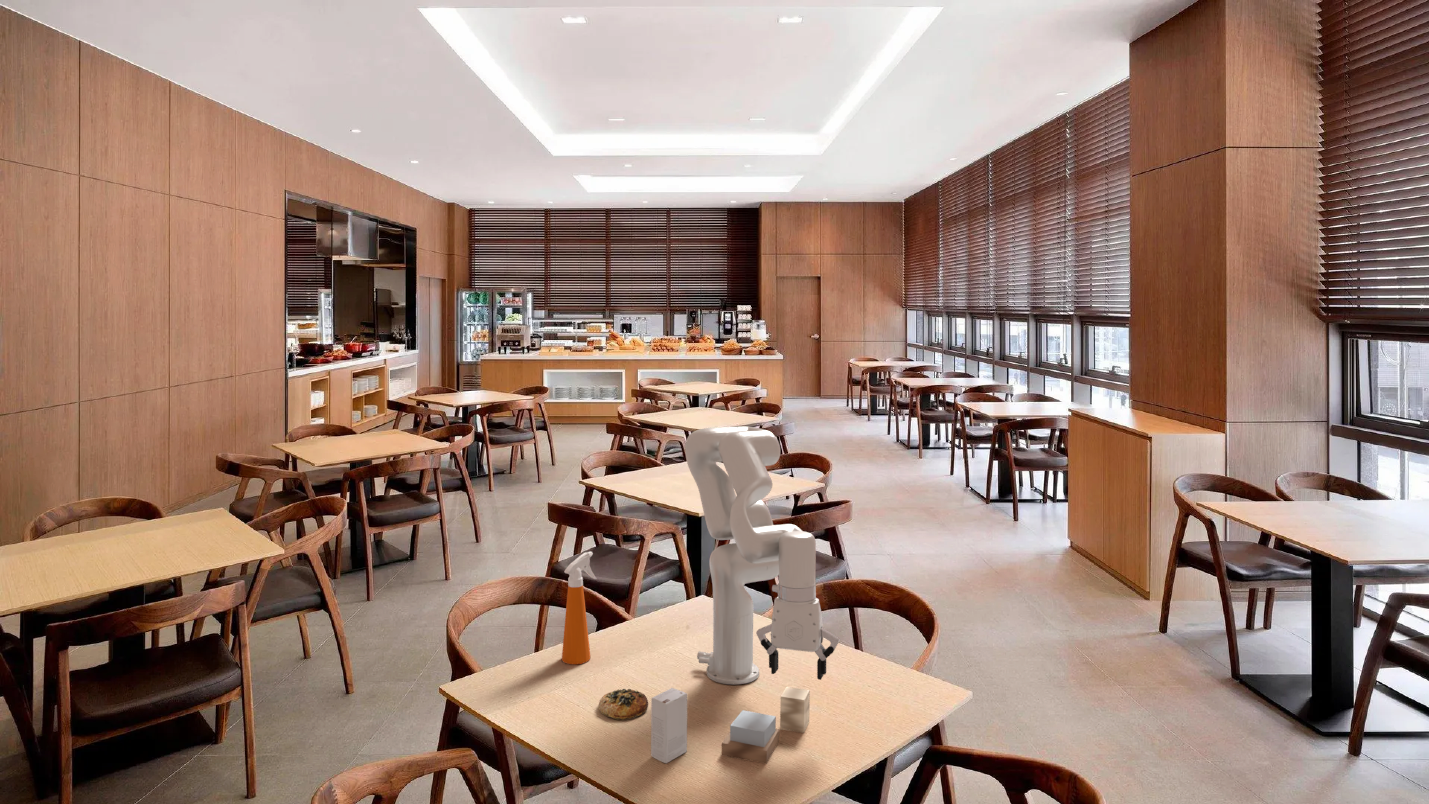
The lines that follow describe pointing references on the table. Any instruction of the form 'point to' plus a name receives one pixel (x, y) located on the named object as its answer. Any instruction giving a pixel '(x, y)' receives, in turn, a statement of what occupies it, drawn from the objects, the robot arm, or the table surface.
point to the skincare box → (669, 725)
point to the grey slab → (753, 728)
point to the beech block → (794, 709)
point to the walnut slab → (750, 749)
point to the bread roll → (623, 704)
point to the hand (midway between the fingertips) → (797, 674)
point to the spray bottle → (576, 613)
